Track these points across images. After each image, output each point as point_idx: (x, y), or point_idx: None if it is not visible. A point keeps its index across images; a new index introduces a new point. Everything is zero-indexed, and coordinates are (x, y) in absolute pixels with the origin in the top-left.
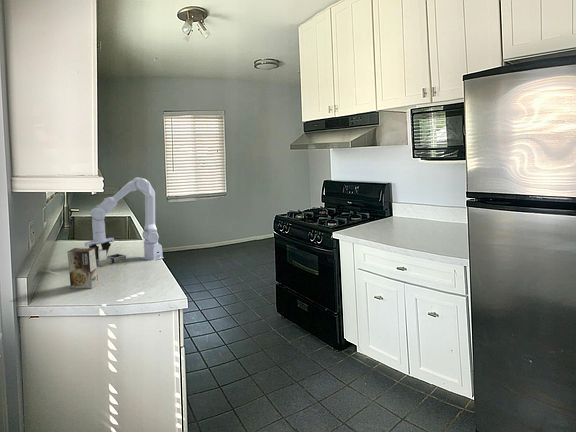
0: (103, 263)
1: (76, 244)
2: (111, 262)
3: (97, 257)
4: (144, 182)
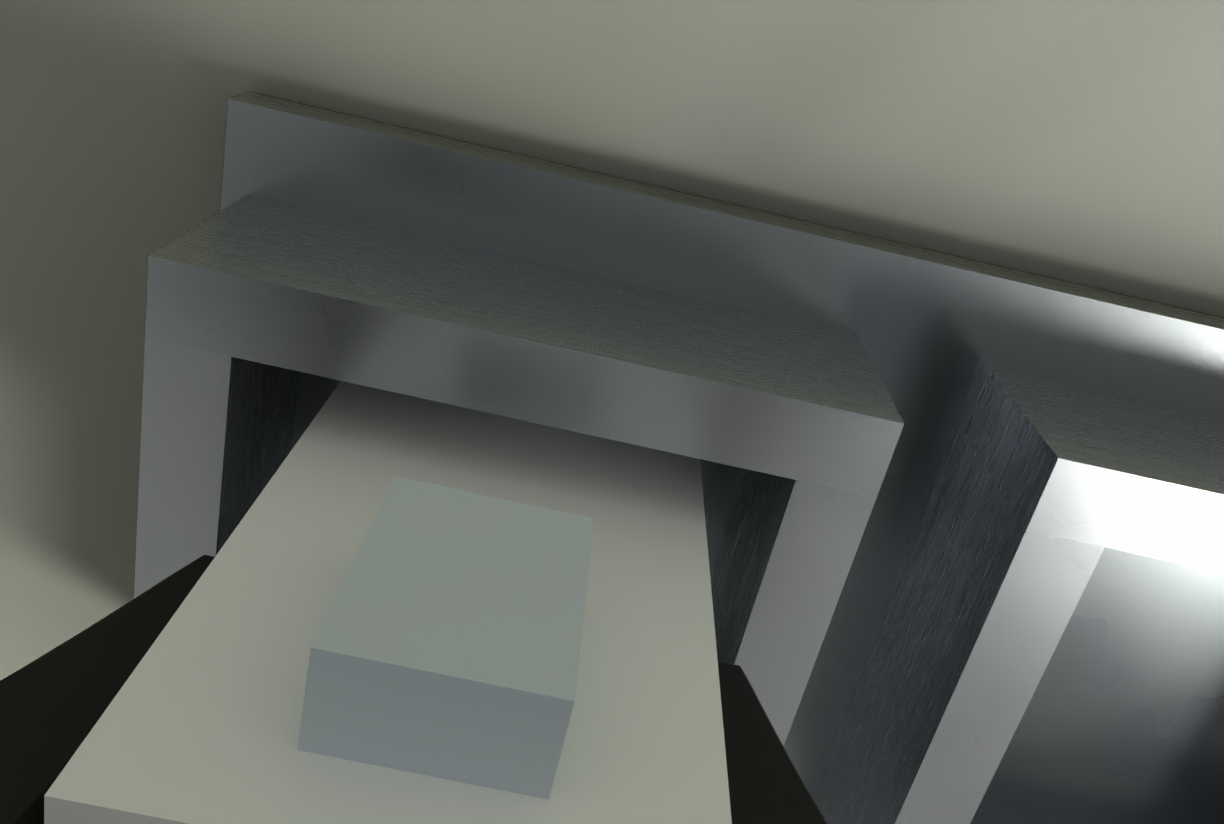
0: None
1: None
2: None
3: None
4: None
